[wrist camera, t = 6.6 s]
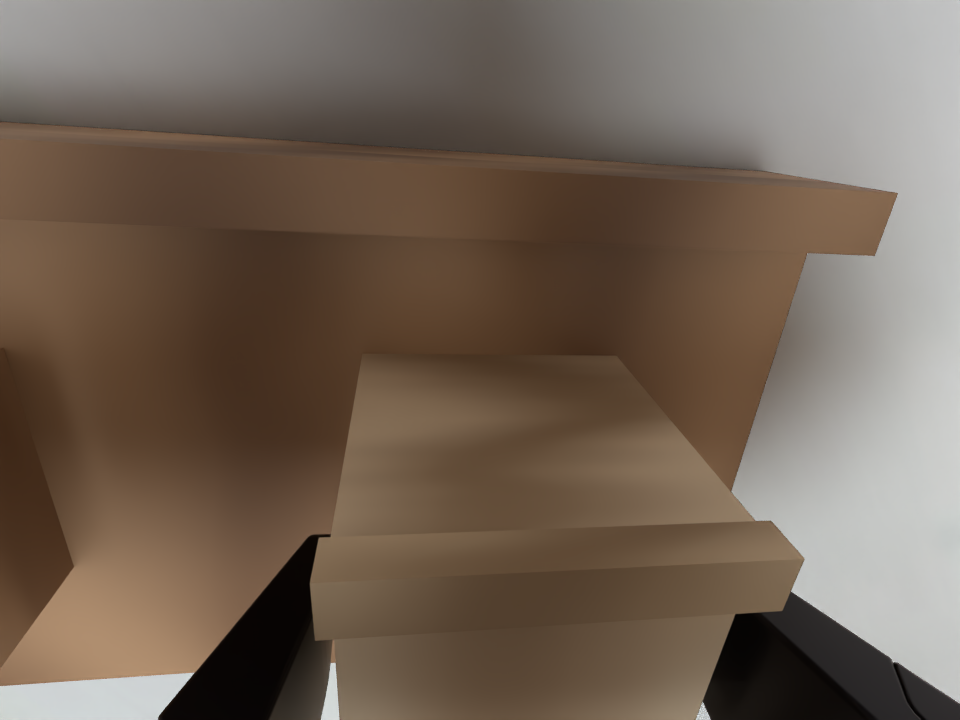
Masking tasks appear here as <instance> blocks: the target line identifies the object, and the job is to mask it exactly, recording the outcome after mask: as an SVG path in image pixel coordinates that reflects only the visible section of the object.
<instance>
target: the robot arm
mask: <svg viewBox="0 0 960 720" xmlns="http://www.w3.org/2000/svg"><path fill="white" fill-rule="evenodd" d="M322 537H331V534H313V535H310V536H309V537H308V538H307V539H306V540H305V541H304V542H303V543H302V545H301V546H300V547H299V548H298V549H297V551H296V552H295V553H294V554H293V555H292V557H291V558H290V559H289V560H288V561H287V563H286V564H285V565H284V566H283V567H282V569H281V570H280V571H279V572H278V573H277V575H276V576H275V577H274V578H273V579H272V581H271V582H270V583H269V584H268V585H267V587H266V588H265V589H264V590H263V591H262V593H261V594H260V595H259V596H258V597H257V599H256V600H255V601H254V602H253V603H252V605H251V606H250V607H249V608H248V609H247V611H246V612H245V613H244V614H243V616H242V617H241V618H240V619H239V620H238V622H237V623H236V624H235V625H234V626H233V628H232V629H231V630H230V631H229V632H228V634H227V635H226V636H225V637H224V638H223V640H222V641H221V642H220V643H219V644H218V646H217V647H216V648H215V649H214V650H213V652H212V653H211V654H210V655H209V656H208V658H207V659H206V660H205V661H204V662H203V664H202V665H201V666H200V667H199V668H198V670H197V671H196V672H195V673H194V674H193V676H192V677H191V678H190V679H189V680H188V682H187V683H186V684H185V685H184V686H183V688H182V689H181V690H180V691H179V692H178V694H177V695H176V696H175V697H174V698H173V700H172V701H171V702H170V703H169V704H168V706H167V707H166V708H165V709H164V710H163V712H162V713H161V714H160V715H159V717H158V720H321V715H322V711H323V706H324V701H325V696H326V691H327V685H328V679H329V671H330V663H331V652H332V642H333V640H320V641H315V635H314V624H313V613H312V602H311V591H310V580H311V575H312V570H313V565H314V560H315V555H316V550H317V545H318V540H319V538H322ZM703 703H704V705H705V708H706V710H707V712H708V714H709V716H710V719H711V720H960V704H959V703H958V702H956V701H955V700H953V699H952V698H950V697H949V696H947V695H946V694H944V693H942V692H941V691H939V690H938V689H936V688H935V687H933V686H932V685H930V684H929V683H927V682H926V681H924V680H923V679H921V678H920V677H918V676H917V675H915V674H914V673H912V672H911V671H909V670H908V669H906V668H905V667H903V666H902V665H900V664H899V663H897V662H892V660H891V658H889V657H888V656H887V655H885V654H884V653H882V652H881V651H879V650H878V649H876V648H875V647H873V646H872V645H870V644H869V643H867V642H866V641H864V640H863V639H861V638H860V637H858V636H857V635H855V634H854V633H852V632H851V631H849V630H848V629H846V628H845V627H843V626H842V625H840V624H839V623H837V622H836V621H834V620H833V619H831V618H830V617H828V616H827V615H825V614H824V613H822V612H821V611H819V610H818V609H816V608H815V607H813V606H812V605H810V604H809V603H807V602H806V601H804V600H803V599H801V598H800V597H798V596H797V595H795V594H794V593H792V592H790V594H789V596H788V599H787V601H786V603H785V606H784V608H783V610H782V611H774V612H758V613H743V614H735V616H734V619H733V622H732V624H731V627H730V630H729V632H728V635H727V637H726V640H725V643H724V645H723V648H722V651H721V653H720V656H719V659H718V661H717V664H716V667H715V669H714V672H713V675H712V677H711V680H710V682H709V685H708V688H707V690H706V693H705V696H704V698H703Z"/></svg>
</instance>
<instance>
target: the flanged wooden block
mask: <svg viewBox="0 0 960 720" xmlns="http://www.w3.org/2000/svg"><path fill="white" fill-rule="evenodd" d="M803 561H804V558H803V556H802V555H801V554H800V553H799V552H798V551H797V550H796V549H795V547H794V546H793V545H792V544H791V543H790V542H789V541H788V539H787V538H786V537H785V536H784V535H783V534H782V533H781V531H780V530H779V529H778V528H777V527H776V526H775V525H774V523H773V522H772V521H755V520H754V519H753V518H752V516H751V515H750V514H749V513H748V512H747V510H746V509H745V508H744V507H743V506H742V504H741V503H740V502H739V501H738V500H737V498H736V497H735V496H734V495H733V494H732V493H731V491H730V490H729V489H728V488H727V487H726V485H725V484H724V483H723V482H722V481H721V479H720V478H719V477H718V476H717V475H716V474H715V472H714V471H713V470H712V469H711V468H710V466H709V465H708V464H707V463H706V462H705V460H704V459H703V458H702V457H701V456H700V454H699V453H698V452H697V451H696V450H695V449H694V447H693V446H692V445H691V444H690V443H689V441H688V440H687V439H686V438H685V437H684V435H683V434H682V433H681V432H680V431H679V430H678V428H677V427H676V426H675V425H674V424H673V422H672V421H671V420H670V419H669V418H668V416H667V415H666V414H665V413H664V412H663V410H662V409H661V408H660V407H659V406H658V405H657V403H656V402H655V401H654V400H653V399H652V397H651V396H650V395H649V394H648V393H647V391H646V390H645V389H644V388H643V387H642V386H641V384H640V383H639V382H638V381H637V380H636V378H635V377H634V376H633V375H632V374H631V372H630V371H629V370H628V369H627V368H626V366H625V365H624V364H623V363H622V362H621V361H620V359H619V358H618V357H617V356H592V355H471V354H362V359H361V365H360V371H359V376H358V382H357V388H356V394H355V399H354V405H353V411H352V417H351V422H350V428H349V434H348V439H347V445H346V451H345V457H344V462H343V468H342V474H341V480H340V485H339V491H338V497H337V503H336V508H335V514H334V520H333V526H332V531H331V537H322V538H319V540H318V545H317V550H316V555H315V560H314V565H313V570H312V575H311V580H310V591H311V602H312V613H313V624H314V635H315V641H320V640H334V645H335V660H336V674H337V688H338V703H339V717H340V720H695V719H696V717H697V714H698V712H699V709H700V706H701V704H702V701H703V698H704V696H705V693H706V690H707V688H708V685H709V682H710V680H711V677H712V675H713V672H714V669H715V667H716V664H717V661H718V659H719V656H720V653H721V651H722V648H723V645H724V643H725V640H726V637H727V635H728V632H729V630H730V627H731V624H732V622H733V619H734V616H735V614H743V613H758V612H774V611H782V610H783V608H784V606H785V603H786V601H787V599H788V596H789V594H790V592H791V589H792V587H793V585H794V582H795V580H796V578H797V575H798V573H799V571H800V568H801V566H802V564H803Z"/></svg>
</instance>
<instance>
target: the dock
mask: <svg viewBox="0 0 960 720" xmlns="http://www.w3.org/2000/svg"><path fill="white" fill-rule="evenodd" d="M897 194H898V193H894V192H887V191H881V190H875V189H869V188H863V187H857V186H851V185H845V184H839V183H833V182H826V181H820V180H814V179H808V178H802V177H796V176H790V175H784V174H778V173H772V172H765V171H752V170H736V169H721V168H706V167H690V166H675V165H659V164H644V163H629V162H613V161H598V160H583V159H567V158H552V157H536V156H521V155H506V154H490V153H475V152H460V151H444V150H429V149H413V148H398V147H383V146H367V145H352V144H337V143H321V142H306V141H290V140H275V139H260V138H244V137H229V136H214V135H198V134H183V133H167V132H152V131H137V130H121V129H106V128H91V127H75V126H60V125H44V124H29V123H14V122H0V348H4V351H5V354H6V357H7V360H8V364H9V367H10V370H11V373H12V376H13V379H14V382H15V385H16V388H17V391H18V395H19V398H20V401H21V404H22V407H23V410H24V413H25V416H26V419H27V422H28V426H29V429H30V432H31V435H32V438H33V441H34V444H35V447H36V450H37V453H38V456H39V460H40V463H41V466H42V469H43V472H44V475H45V478H46V481H47V484H48V487H49V491H50V494H51V497H52V500H53V503H54V506H55V509H56V512H57V515H58V518H59V522H60V525H61V528H62V531H63V534H64V537H65V540H66V543H67V546H68V549H69V553H70V556H71V559H72V562H73V565H74V568H73V569H72V571H71V572H70V573H69V575H68V576H67V578H66V579H65V580H64V582H63V583H62V585H61V586H60V587H59V589H58V590H57V591H56V593H55V594H54V596H53V597H52V598H51V600H50V601H49V602H48V604H47V605H46V607H45V608H44V609H43V611H42V612H41V613H40V615H39V616H38V618H37V619H36V620H35V622H34V623H33V624H32V626H31V627H30V629H29V630H28V631H27V633H26V634H25V635H24V637H23V638H22V640H21V641H20V642H19V644H18V645H17V646H16V648H15V649H14V651H13V652H12V653H11V655H10V656H9V657H8V659H7V660H6V662H5V663H4V664H3V666H2V667H1V668H0V686H7V685H21V684H36V683H50V682H64V681H79V680H93V679H107V678H121V677H136V676H150V675H164V674H179V673H193V672H196V671H197V670H198V668H199V667H200V666H201V665H202V664H203V662H204V661H205V660H206V659H207V658H208V656H209V655H210V654H211V653H212V652H213V650H214V649H215V648H216V647H217V646H218V644H219V643H220V642H221V641H222V640H223V638H224V637H225V636H226V635H227V634H228V632H229V631H230V630H231V629H232V628H233V626H234V625H235V624H236V623H237V622H238V620H239V619H240V618H241V617H242V616H243V614H244V613H245V612H246V611H247V609H248V608H249V607H250V606H251V605H252V603H253V602H254V601H255V600H256V599H257V597H258V596H259V595H260V594H261V593H262V591H263V590H264V589H265V588H266V587H267V585H268V584H269V583H270V582H271V581H272V579H273V578H274V577H275V576H276V575H277V573H278V572H279V571H280V570H281V569H282V567H283V566H284V565H285V564H286V563H287V561H288V560H289V559H290V558H291V557H292V555H293V554H294V553H295V552H296V551H297V549H298V548H299V547H300V546H301V545H302V543H303V542H304V541H305V540H306V539H307V538H308V537H309V536H310V535H313V534H331V531H332V526H333V520H334V514H335V508H336V503H337V497H338V491H339V485H340V480H341V474H342V468H343V462H344V457H345V451H346V445H347V439H348V434H349V428H350V422H351V417H352V411H353V405H354V399H355V394H356V388H357V382H358V376H359V371H360V365H361V359H362V354H471V355H592V356H617V357H618V358H619V359H620V361H621V362H622V363H623V364H624V365H625V366H626V368H627V369H628V370H629V371H630V372H631V374H632V375H633V376H634V377H635V378H636V380H637V381H638V382H639V383H640V384H641V386H642V387H643V388H644V389H645V390H646V391H647V393H648V394H649V395H650V396H651V397H652V399H653V400H654V401H655V402H656V403H657V405H658V406H659V407H660V408H661V409H662V410H663V412H664V413H665V414H666V415H667V416H668V418H669V419H670V420H671V421H672V422H673V424H674V425H675V426H676V427H677V428H678V430H679V431H680V432H681V433H682V434H683V435H684V437H685V438H686V439H687V440H688V441H689V443H690V444H691V445H692V446H693V447H694V449H695V450H696V451H697V452H698V453H699V454H700V456H701V457H702V458H703V459H704V460H705V462H706V463H707V464H708V465H709V466H710V468H711V469H712V470H713V471H714V472H715V474H716V475H717V476H718V477H719V478H720V479H721V481H722V482H723V483H724V484H725V485H726V487H727V488H728V489H729V490H730V491H731V490H732V487H733V483H734V480H735V477H736V474H737V471H738V468H739V465H740V462H741V459H742V455H743V452H744V449H745V446H746V443H747V440H748V437H749V434H750V430H751V427H752V424H753V421H754V418H755V415H756V412H757V409H758V406H759V402H760V399H761V396H762V393H763V390H764V387H765V384H766V381H767V378H768V374H769V371H770V368H771V365H772V362H773V359H774V356H775V353H776V349H777V346H778V343H779V340H780V337H781V334H782V331H783V328H784V325H785V321H786V318H787V315H788V312H789V309H790V306H791V303H792V300H793V296H794V293H795V290H796V287H797V284H798V281H799V278H800V275H801V272H802V268H803V265H804V262H805V259H806V256H807V253H820V254H844V255H868V256H875V253H876V251H877V248H878V245H879V243H880V240H881V237H882V235H883V232H884V229H885V227H886V224H887V221H888V219H889V216H890V213H891V211H892V208H893V205H894V202H895V200H896V197H897ZM331 663H336V660H335V645H334V640H333V642H332V652H331Z"/></svg>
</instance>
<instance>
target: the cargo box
mask: <svg viewBox="0 0 960 720" xmlns="http://www.w3.org/2000/svg"><path fill="white" fill-rule="evenodd" d="M73 568H74V565H73V562H72V559H71V556H70V553H69V549H68V546H67V543H66V540H65V537H64V534H63V531H62V528H61V525H60V522H59V518H58V515H57V512H56V509H55V506H54V503H53V500H52V497H51V494H50V491H49V487H48V484H47V481H46V478H45V475H44V472H43V469H42V466H41V463H40V460H39V456H38V453H37V450H36V447H35V444H34V441H33V438H32V435H31V432H30V429H29V426H28V422H27V419H26V416H25V413H24V410H23V407H22V404H21V401H20V398H19V395H18V391H17V388H16V385H15V382H14V379H13V376H12V373H11V370H10V367H9V364H8V360H7V357H6V354H5V351H4V348H0V668H1V667H2V666H3V664H4V663H5V662H6V660H7V659H8V657H9V656H10V655H11V653H12V652H13V651H14V649H15V648H16V646H17V645H18V644H19V642H20V641H21V640H22V638H23V637H24V635H25V634H26V633H27V631H28V630H29V629H30V627H31V626H32V624H33V623H34V622H35V620H36V619H37V618H38V616H39V615H40V613H41V612H42V611H43V609H44V608H45V607H46V605H47V604H48V602H49V601H50V600H51V598H52V597H53V596H54V594H55V593H56V591H57V590H58V589H59V587H60V586H61V585H62V583H63V582H64V580H65V579H66V578H67V576H68V575H69V573H70V572H71V571H72V569H73Z"/></svg>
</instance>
